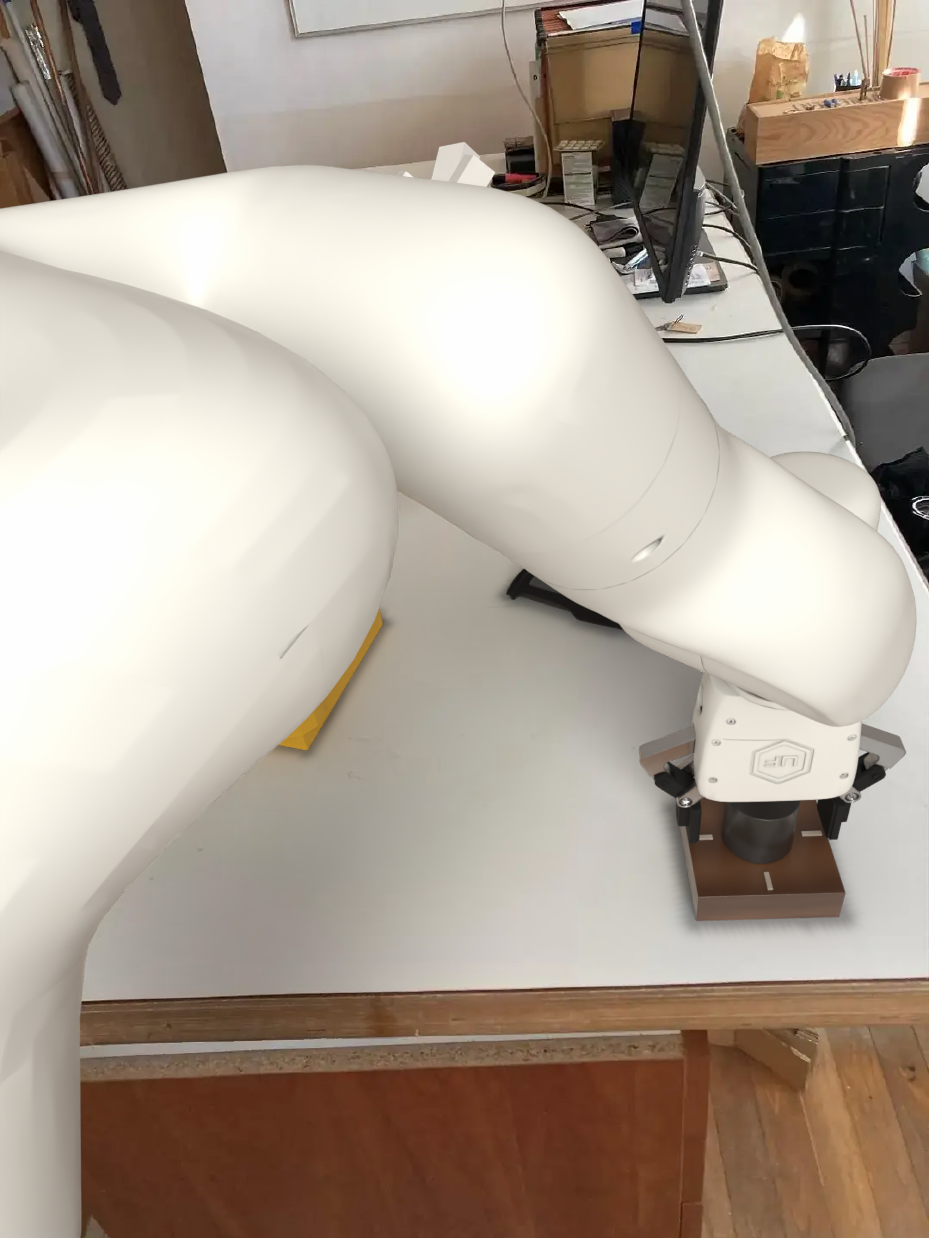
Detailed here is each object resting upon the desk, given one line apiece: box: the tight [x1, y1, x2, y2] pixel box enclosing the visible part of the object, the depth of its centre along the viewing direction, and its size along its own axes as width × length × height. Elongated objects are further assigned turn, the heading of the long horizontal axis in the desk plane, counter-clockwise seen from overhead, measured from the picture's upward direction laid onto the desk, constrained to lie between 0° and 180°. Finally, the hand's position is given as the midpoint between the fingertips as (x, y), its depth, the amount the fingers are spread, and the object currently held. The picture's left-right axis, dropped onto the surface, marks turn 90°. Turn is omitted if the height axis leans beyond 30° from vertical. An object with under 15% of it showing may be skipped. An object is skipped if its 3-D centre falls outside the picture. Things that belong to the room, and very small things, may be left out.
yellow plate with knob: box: [278, 608, 384, 751], centre depth 90 cm, size 19×13×4 cm
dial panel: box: [679, 797, 846, 922], centre depth 69 cm, size 10×10×3 cm
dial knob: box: [722, 800, 801, 864], centre depth 67 cm, size 5×5×5 cm
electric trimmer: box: [506, 568, 624, 631], centre depth 94 cm, size 4×16×3 cm, turn 54°
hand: (758, 825), depth 67 cm, fingers open, 9 cm apart
